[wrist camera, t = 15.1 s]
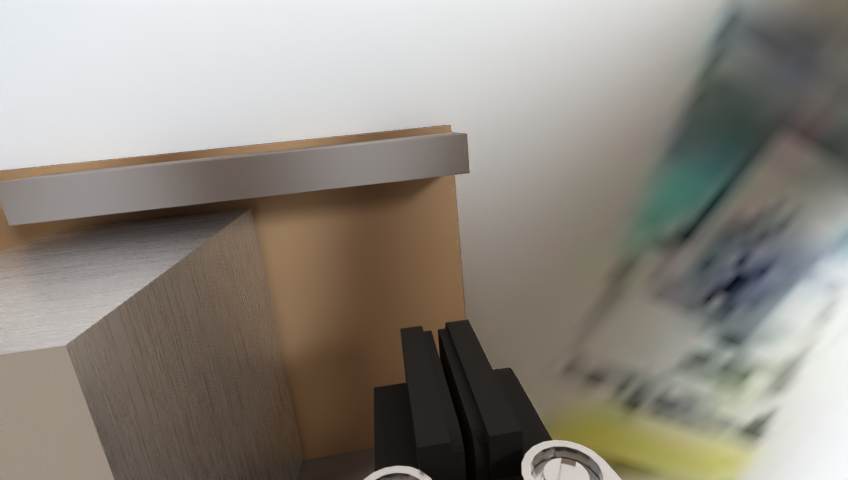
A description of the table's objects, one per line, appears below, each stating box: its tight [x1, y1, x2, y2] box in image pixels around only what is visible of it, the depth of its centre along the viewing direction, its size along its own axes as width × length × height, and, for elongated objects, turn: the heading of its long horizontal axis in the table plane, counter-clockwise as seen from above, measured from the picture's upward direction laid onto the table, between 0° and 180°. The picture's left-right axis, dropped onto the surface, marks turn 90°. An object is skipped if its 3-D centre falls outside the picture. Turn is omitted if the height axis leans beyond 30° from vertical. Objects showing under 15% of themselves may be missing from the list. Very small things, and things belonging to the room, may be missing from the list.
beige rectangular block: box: [0, 208, 303, 480], centre depth 9 cm, size 5×9×8 cm, turn 6°
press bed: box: [0, 125, 469, 480], centre depth 12 cm, size 18×12×4 cm, turn 96°
